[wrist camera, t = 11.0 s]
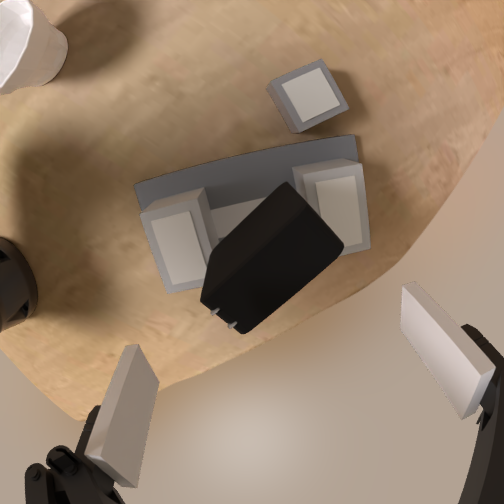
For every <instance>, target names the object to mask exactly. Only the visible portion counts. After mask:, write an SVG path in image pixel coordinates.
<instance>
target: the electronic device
mask: <svg viewBox="0 0 504 504" xmlns="http://www.w3.org/2000/svg"><path fill="white" fill-rule="evenodd" d="M343 249H344V243H343V242H342V241H341V240H340V239H339V237H338V236H337V235H336V234H335V233H334V232H333V230H332V229H331V228H330V227H329V226H328V225H327V224H326V223H325V221H324V220H323V219H322V218H321V217H320V216H319V215H318V214H317V213H316V211H315V210H314V209H313V208H312V207H311V206H310V205H309V204H308V203H307V202H306V200H305V199H304V198H303V197H302V196H301V195H300V194H299V193H298V192H297V191H296V190H295V189H294V188H293V187H292V186H291V185H290V184H289V183H288V182H287V181H286V182H284V183H282V184H281V185H280V186H278V187H277V188H276V189H275V190H274V191H273V192H272V193H271V194H270V195H269V196H268V197H267V198H266V199H264V200H263V201H262V202H261V203H260V204H259V205H258V206H257V207H256V208H255V209H254V210H253V211H252V212H251V213H250V214H249V215H248V216H247V217H246V218H245V219H243V220H242V221H241V222H240V223H239V224H238V225H237V226H236V227H235V228H234V229H233V230H232V231H231V232H230V233H229V234H228V235H227V236H226V237H225V238H224V239H223V240H222V241H221V242H220V243H219V244H218V245H217V246H216V247H215V248H214V249H213V250H212V252H211V254H210V256H209V261H208V265H207V270H206V274H205V279H204V284H203V288H202V293H201V298H200V302H201V303H202V304H204V305H205V306H206V307H207V308H209V309H210V310H211V315H212V316H213V315H214V314H216V315H217V316H219V317H220V318H221V319H223V320H224V321H225V322H226V323H228V328H229V329H231V328H232V327H233V328H234V329H235V330H237V331H238V332H239V333H241V334H246V333H248V332H249V331H251V330H252V329H253V328H254V327H256V326H257V325H258V324H259V323H261V322H262V321H263V320H264V319H266V318H267V317H268V316H269V315H271V314H272V313H273V312H274V311H276V310H277V309H278V308H279V307H280V306H282V305H283V304H284V303H285V302H286V301H288V300H289V299H290V298H291V297H292V296H294V295H295V294H296V293H297V292H298V291H300V290H301V289H302V288H303V287H304V286H305V285H307V284H308V283H309V282H310V281H311V280H312V279H314V278H315V277H316V276H317V275H318V274H319V273H321V272H322V271H323V270H324V269H325V268H326V267H327V266H329V265H330V264H331V263H332V262H333V261H334V260H335V259H337V258H338V256H339V255H340V254H341V253H342V251H343Z"/></svg>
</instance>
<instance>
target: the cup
mask: <svg viewBox="0 0 504 504" xmlns="http://www.w3.org/2000/svg"><path fill="white" fill-rule="evenodd" d="M67 51H68V44H67V39H66V37H65V35H64V34H63V33H62V32H61V31H59V30H57V29H56V28H55V27H54V26H53V25H52V24H51V23H50V22H49V20H48V18H47V17H46V15H45V14H44V12H43V11H42V10H41V9H40V8H39V7H38V6H36V5H35V4H34V3H33V2H32V1H30V0H5V1H3V2H1V3H0V95H4V94H10V93H12V92H14V91H15V90H17V89H19V88H24V87H30V86H42V85H44V84H46V83H47V82H49V81H50V80H52V79H53V78H54V77H55V76H56V74H57V73H58V72H59V71H60V69H61V67H62V65H63V63H64V61H65V59H66V55H67Z"/></svg>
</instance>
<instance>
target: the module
mask: <svg viewBox="0 0 504 504" xmlns="http://www.w3.org/2000/svg"><path fill="white" fill-rule="evenodd" d="M266 89H267V91H268V93H269V94H270V96H271V98H272V100H273V101H274V103H275V105H276V106H277V108H278V110H279V112H280V113H281V115H282V117H283V119H284V120H285V122H286V124H287V126H288V128H289V129H290V131H291V133H300V132H302V131H304V130H306V129H308V128H310V127H312V126H314V125H317V124H319V123H321V122H323V121H325V120H327V119H329V118H331V117H333V116H335V115H338V114H340V113H342V112H344V111H346V110H348V109H349V107H348V105H347V103H346V101H345V99H344V97H343V95H342V93H341V92H340V90H339V88H338V86H337V84H336V82H335V81H334V79H333V77H332V75H331V73H330V72H329V70H328V68H327V67H326V65H325V63H324V61H323V60H322V59H320V60H317V61H315V62H312V63H310V64H308V65H305V66H303V67H301V68H298V69H296V70H294V71H292V72H289V73H287V74H285V75H283V76H281V77H279V78H276V79H274V80H272V81H270V83H269V84H268V86H267V88H266Z"/></svg>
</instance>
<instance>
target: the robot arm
mask: <svg viewBox="0 0 504 504" xmlns="http://www.w3.org/2000/svg"><path fill="white" fill-rule="evenodd" d="M401 303H402V304H401V320H400V330H401V331H402V333H403V334H404V335H405V337H406V338H407V340H408V341H409V342H410V344H411V345H412V347H413V348H414V350H415V351H416V352H417V354H418V355H419V357H420V358H421V359H422V361H423V362H424V364H425V365H426V367H427V368H428V370H429V371H430V372H431V374H432V376H433V377H434V379H435V380H436V382H437V383H438V384H439V386H440V387H441V389H442V391H443V392H444V394H445V395H446V397H447V398H448V400H449V401H450V403H451V405H452V406H453V408H454V409H455V411H456V412H457V414H458V416H459V417H460V419H461V420H463V419H465V418H467V417H468V416H470V415H472V414H474V413H475V412H476V410H477V408H478V406H479V404H480V405H481V406H482V407H483V411H482V413H481V415H480V417H479V418H478V421H477V423H476V424H479V422H480V426H479V431H478V436H477V441H476V445H475V449H474V453H473V457H472V461H471V465H470V468H469V472H468V475H467V479H466V482H465V485H464V488H463V491H462V494H461V497H460V500H459V503H458V504H504V358H503V356H502V355H501V354H500V353H499V352H498V351H497V350H496V349H495V348H494V347H493V345H492V344H491V343H489V341H488V340H487V339H486V338H485V337H483V335H482V334H481V333H480V332H479V331H478V330H477V329H476V328H474V327H472V326H470V325H468V324H466V325H463V326H461V327H460V326H459V325H458V324H457V323H456V322H455V321H454V320H453V319H452V318H451V317H450V316H449V315H448V314H447V313H446V312H445V310H443V308H442V307H440V305H439V304H438V303H436V301H435V300H434V299H433V298H432V297H431V296H429V294H428V293H427V292H426V291H425V290H424V289H423V288H422V287H420V286H419V285H418V284H417V283H416V282H415V281H414V282H411V283H408V284H404V285H402V302H401ZM36 305H37V287H36V282H35V279H34V276H33V273H32V271H31V269H30V267H29V265H28V263H27V261H26V260H25V258H24V257H23V255H22V254H21V253H20V252H19V250H18V249H17V248H16V247H15V246H14V245H12V244H11V243H10V242H8V241H7V240H5V239H3V238H0V332H2V331H4V330H6V329H8V328H10V327H13V326H15V325H17V324H20V323H22V322H24V321H25V320H26V319H27V318H28V317H29V316H30V315H31V314H32V313H33V311H34V310H35V308H36ZM158 386H159V380H158V379H157V377H156V375H155V373H154V372H153V370H152V368H151V366H150V365H149V363H148V361H147V359H146V357H145V356H144V354H143V352H142V350H141V348H140V346H139V344H135V345H128V346H125V348H124V350H123V353H122V355H121V357H120V360H119V362H118V365H117V367H116V369H115V372H114V374H113V377H112V379H111V382H110V384H109V387H108V389H107V392H106V395H105V397H104V400H103V402H102V405H96V406H95V407H94V408H93V410H92V411H91V412H90V413H89V415H88V418H87V420H86V424H85V426H84V429H83V431H82V434H81V436H80V440H79V442H78V445H77V447H76V450H75V453H73V452H72V451H71V450H70V449H69V448H68V447H66V446H63V445H59V446H56V447H54V448H53V449H52V450H50V452H49V453H48V455H47V458H46V464H47V465H48V466H49V467H50V468H51V469H47V468H45V467H44V466H43V465H42V464H39V463H35V464H32V465H30V467H28V468H27V470H26V472H25V497H26V504H125V503H124V501H123V499H122V498H121V496H120V495H119V493H118V491H117V490H116V489H115V488H114V487H113V486H114V481H115V482H117V483H118V484H119V485H120V486H122V487H130V488H137V487H138V481H139V476H140V470H141V465H142V460H143V454H144V450H145V445H146V440H147V435H148V430H149V426H150V421H151V416H152V412H153V408H154V403H155V399H156V395H157V391H158Z"/></svg>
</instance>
